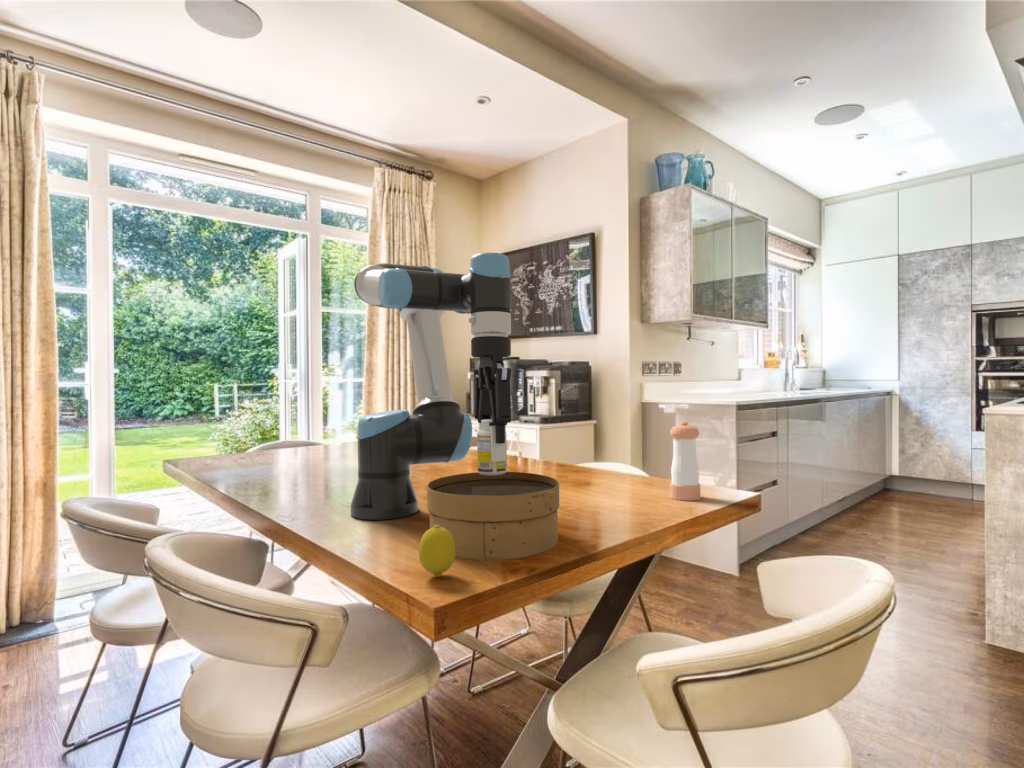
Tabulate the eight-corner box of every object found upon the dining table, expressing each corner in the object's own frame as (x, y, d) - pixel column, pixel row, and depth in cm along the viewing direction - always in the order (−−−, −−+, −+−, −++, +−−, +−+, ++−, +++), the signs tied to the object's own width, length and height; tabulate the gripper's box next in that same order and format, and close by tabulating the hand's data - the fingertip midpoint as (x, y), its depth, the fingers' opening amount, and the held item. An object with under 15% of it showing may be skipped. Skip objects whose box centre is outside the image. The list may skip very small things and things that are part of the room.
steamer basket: (586, 548, 97) (584, 484, 97) (452, 572, 86) (450, 501, 86) (525, 518, 119) (524, 466, 119) (413, 534, 109) (412, 478, 109)
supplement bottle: (505, 470, 106) (505, 418, 106) (508, 475, 100) (507, 420, 100) (477, 471, 105) (476, 419, 105) (478, 476, 100) (477, 421, 100)
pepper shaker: (704, 500, 134) (703, 422, 134) (675, 501, 134) (674, 423, 134) (694, 494, 141) (693, 420, 141) (666, 494, 141) (665, 421, 141)
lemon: (412, 577, 83) (411, 525, 83) (440, 568, 87) (439, 518, 87) (435, 586, 79) (434, 531, 79) (463, 576, 83) (462, 524, 83)
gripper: (457, 339, 110) (458, 454, 110) (489, 331, 93) (491, 467, 93) (491, 340, 113) (493, 452, 113) (529, 332, 96) (531, 464, 96)
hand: (492, 458), depth 103 cm, fingers closed on supplement bottle, 5 cm apart
